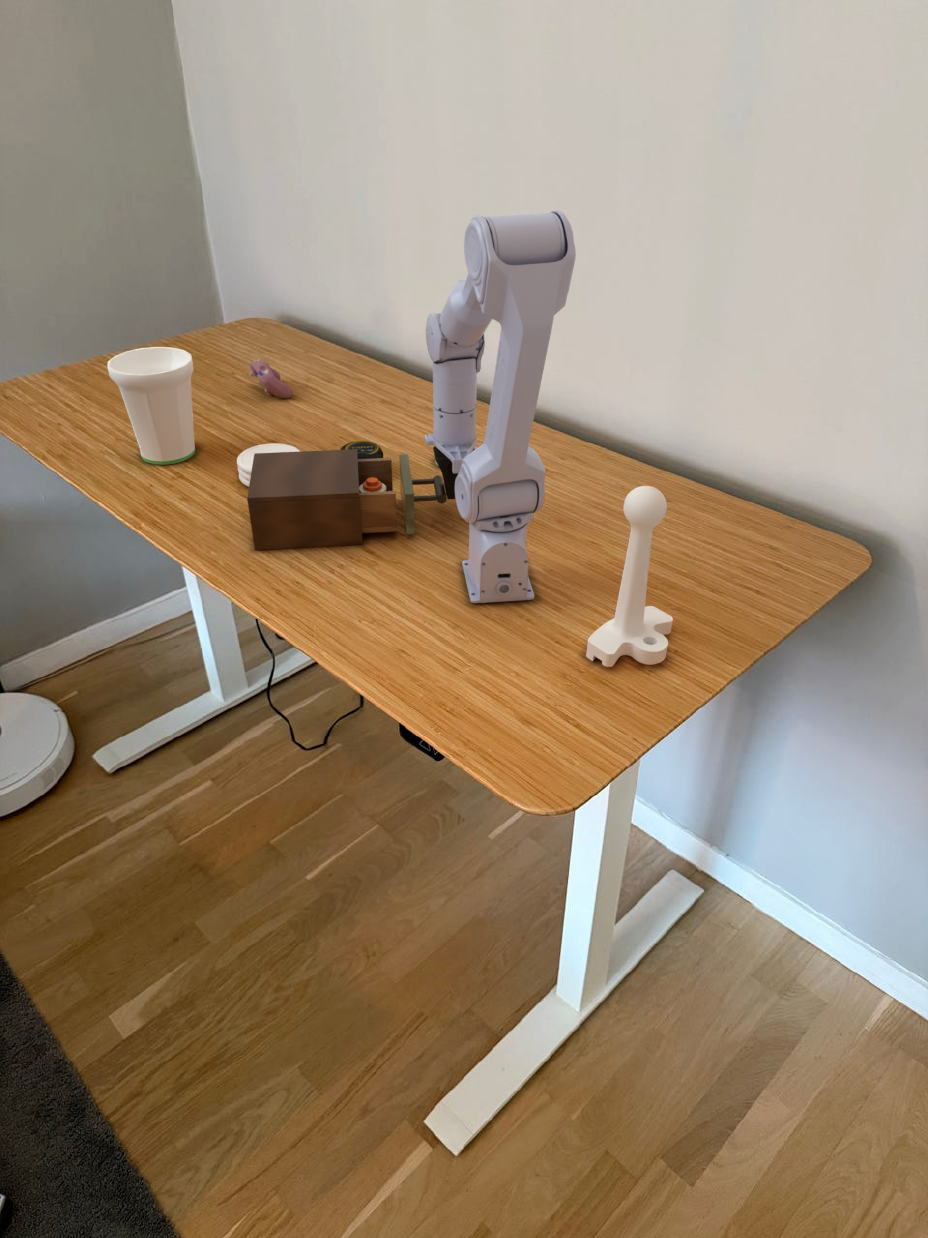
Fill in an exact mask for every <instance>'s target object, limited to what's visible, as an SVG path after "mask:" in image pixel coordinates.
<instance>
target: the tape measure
mask: <svg viewBox="0 0 928 1238" xmlns="http://www.w3.org/2000/svg"><path fill="white" fill-rule="evenodd" d="M347 449H357V459H374V458H384V451H383V449H382V448H381V446H379V445H378V444H377V443H376V442H374V441H373V442H372V441H368V440H357V441H350V442H347V443H345V444H344V445H342V446H341V447H340V448H339V450H347Z"/></svg>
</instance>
